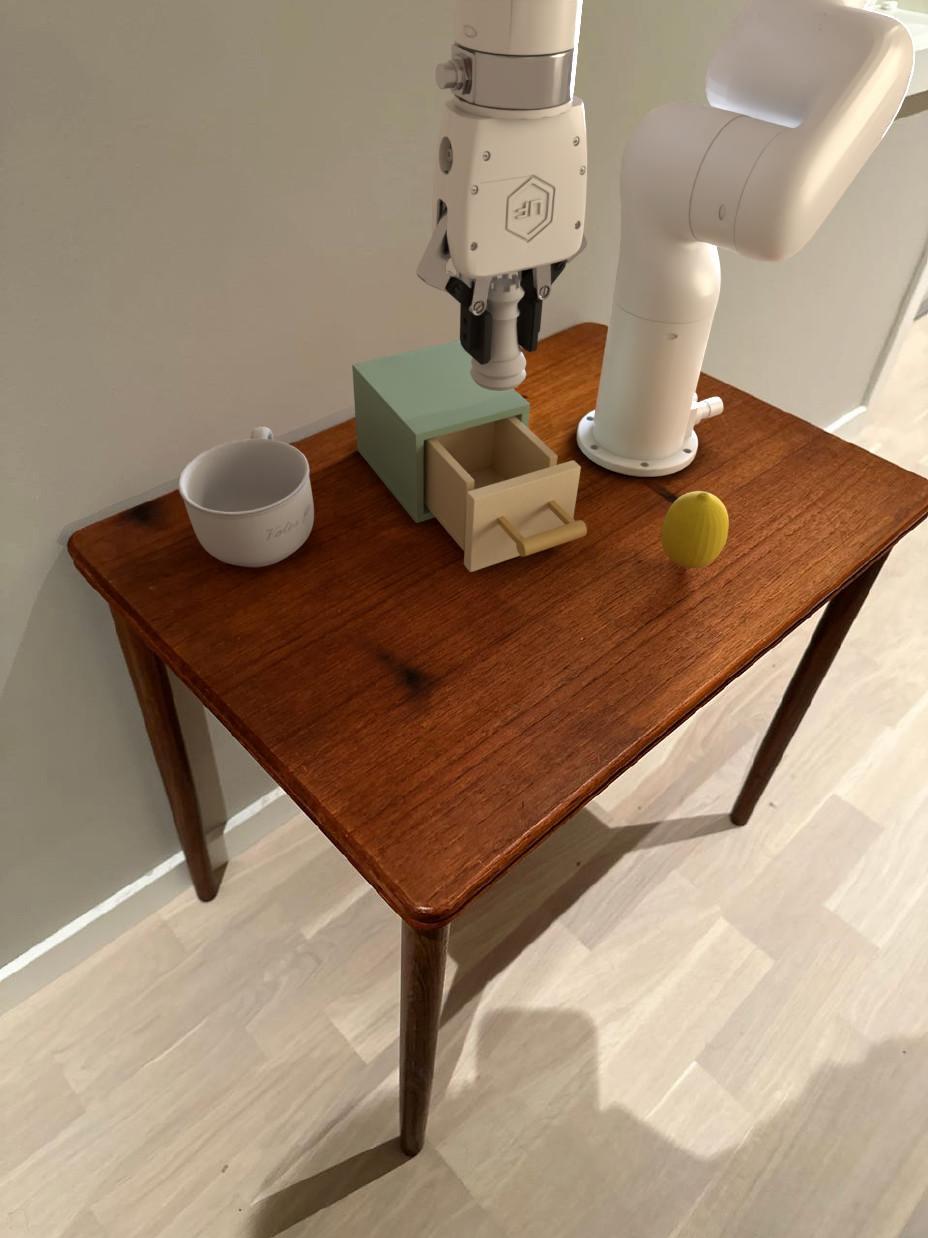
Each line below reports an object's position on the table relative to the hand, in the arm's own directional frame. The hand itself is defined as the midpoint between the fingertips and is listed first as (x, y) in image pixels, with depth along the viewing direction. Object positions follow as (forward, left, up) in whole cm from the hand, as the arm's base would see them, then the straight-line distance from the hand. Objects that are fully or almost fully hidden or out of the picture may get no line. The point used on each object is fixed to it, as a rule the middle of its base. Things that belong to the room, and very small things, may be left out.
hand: (499, 347), depth 67 cm
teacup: (+18, -9, -19) cm, 28 cm away
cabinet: (-1, -11, -19) cm, 22 cm away
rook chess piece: (0, 0, -3) cm, 3 cm away
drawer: (-1, +1, -18) cm, 18 cm away
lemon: (-14, +12, -19) cm, 26 cm away
